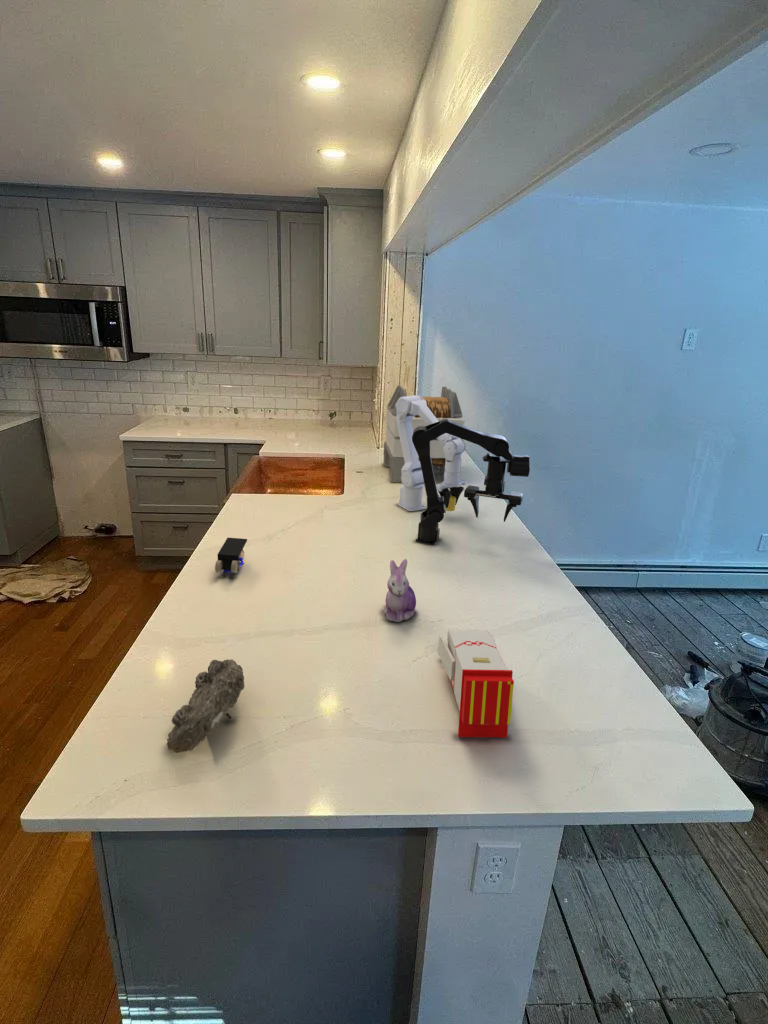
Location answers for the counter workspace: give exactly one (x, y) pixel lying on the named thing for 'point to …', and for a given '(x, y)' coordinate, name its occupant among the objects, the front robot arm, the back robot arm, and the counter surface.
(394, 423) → the transformer
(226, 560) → the black wheeled block
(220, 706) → the fossil
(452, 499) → the cylinder
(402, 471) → the back robot arm
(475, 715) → the toy
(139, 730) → the counter surface
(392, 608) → the figurine
